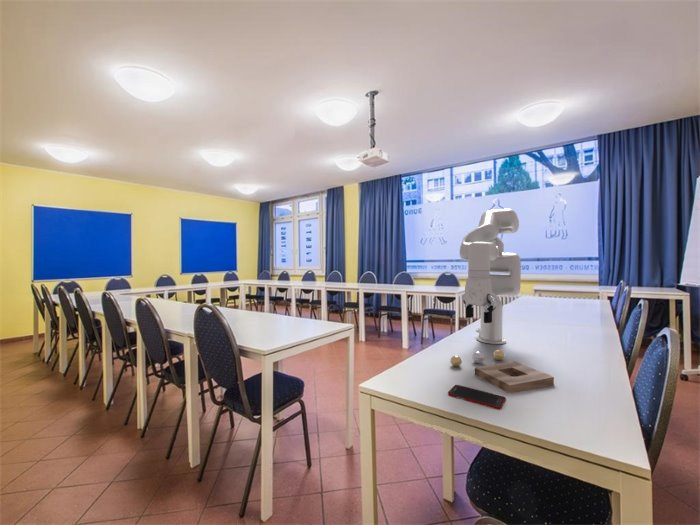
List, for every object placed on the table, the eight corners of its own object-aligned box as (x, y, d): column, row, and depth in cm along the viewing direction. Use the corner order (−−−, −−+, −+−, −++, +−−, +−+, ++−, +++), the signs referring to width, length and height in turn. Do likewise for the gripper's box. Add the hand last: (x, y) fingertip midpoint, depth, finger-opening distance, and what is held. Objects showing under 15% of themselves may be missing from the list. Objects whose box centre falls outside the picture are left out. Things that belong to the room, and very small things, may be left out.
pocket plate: (474, 374, 107) (474, 367, 106) (514, 368, 112) (514, 361, 112) (509, 393, 92) (509, 385, 92) (553, 384, 98) (553, 377, 98)
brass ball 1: (448, 365, 116) (448, 354, 115) (457, 363, 117) (457, 353, 117) (455, 369, 112) (455, 358, 112) (464, 367, 113) (464, 356, 113)
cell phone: (500, 411, 83) (500, 407, 83) (446, 396, 92) (446, 392, 92) (506, 400, 89) (506, 397, 89) (455, 387, 98) (455, 384, 98)
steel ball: (469, 361, 119) (469, 350, 119) (478, 360, 120) (478, 349, 120) (477, 366, 115) (477, 354, 115) (487, 364, 116) (487, 352, 116)
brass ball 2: (490, 359, 122) (491, 349, 122) (498, 357, 123) (499, 347, 123) (498, 362, 118) (498, 352, 118) (506, 361, 119) (507, 351, 119)
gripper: (455, 273, 123) (455, 316, 124) (487, 276, 107) (487, 325, 107) (471, 273, 126) (470, 315, 126) (504, 276, 109) (504, 324, 110)
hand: (478, 320), depth 117 cm, fingers open, 9 cm apart
